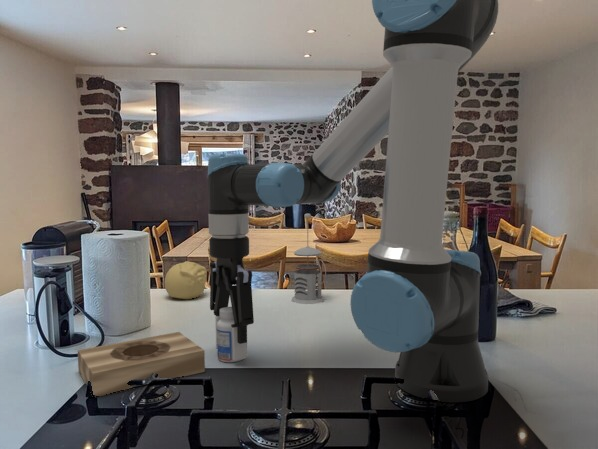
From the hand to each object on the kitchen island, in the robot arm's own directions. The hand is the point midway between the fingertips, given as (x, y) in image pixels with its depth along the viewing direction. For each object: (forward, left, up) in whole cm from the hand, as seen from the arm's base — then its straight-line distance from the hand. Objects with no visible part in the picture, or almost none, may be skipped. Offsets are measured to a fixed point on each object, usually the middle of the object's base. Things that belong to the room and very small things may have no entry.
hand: (231, 352), depth 96 cm
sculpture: (+53, -11, -1) cm, 54 cm away
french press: (+29, -39, -1) cm, 49 cm away
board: (+3, +16, -1) cm, 17 cm away
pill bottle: (0, 0, -1) cm, 1 cm away
